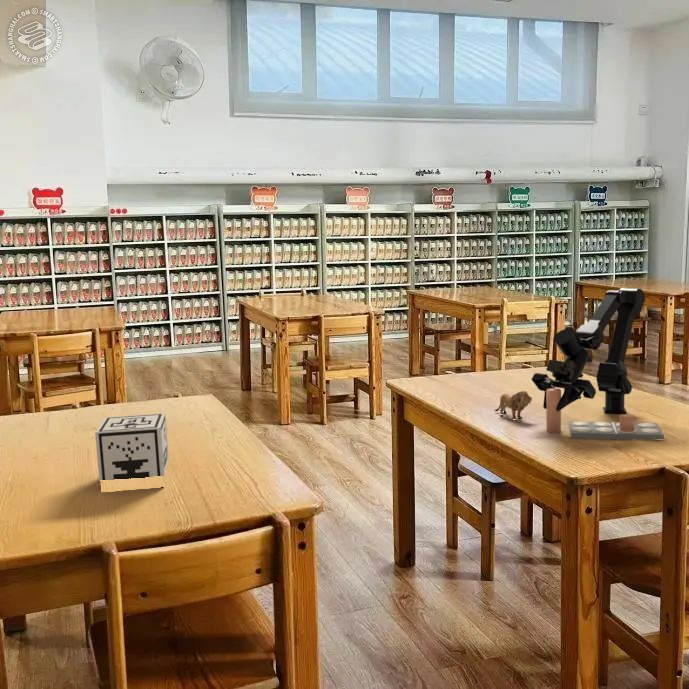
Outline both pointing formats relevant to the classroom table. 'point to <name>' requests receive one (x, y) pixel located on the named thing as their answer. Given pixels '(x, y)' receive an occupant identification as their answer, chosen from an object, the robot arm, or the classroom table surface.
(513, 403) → the lion figurine
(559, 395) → the terracotta pin
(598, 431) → the pattern board
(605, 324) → the robot arm
